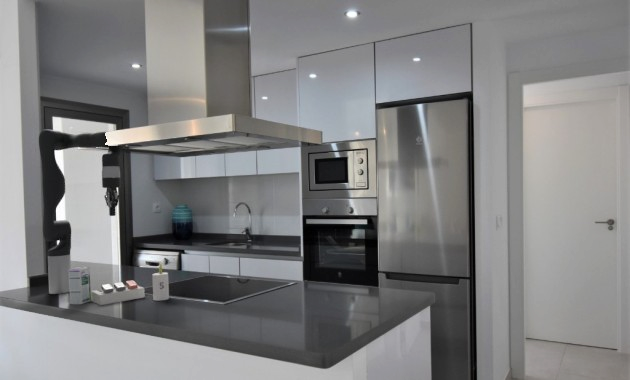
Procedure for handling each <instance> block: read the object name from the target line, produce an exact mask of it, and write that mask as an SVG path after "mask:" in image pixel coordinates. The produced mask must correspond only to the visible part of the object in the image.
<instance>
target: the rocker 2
mask: <svg viewBox="0 0 630 380" xmlns="http://www.w3.org/2000/svg"><path fill="white" fill-rule="evenodd" d="M126 286H127V285H126V284H125V283H123V282H122V281H121V282H114V283H113V288H114V287H115V288H116V289H117V291H121V290H126Z"/></svg>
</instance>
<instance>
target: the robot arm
mask: <svg viewBox="0 0 630 380" xmlns="http://www.w3.org/2000/svg"><path fill="white" fill-rule="evenodd" d="M106 132H107V131H97V132H79V133H68V132H63V131H60V130H55V129H43V130H41V131H40V133H39V135H38V148H39V154H40V160H41V161H40V162H41V174H42V175H41V176H42V179H41V180H42V182H41V183H42V196H43V197H42V198H43V199H42V200H43V215H42V216H43V218H42V219H43V221H42V235H43V238H44V240H45V241H46V242H55V241H56V242H57V241H59V242H58V244H56V245H55V246H53V247H52V248H49V249H48V250H47V266H48V268H47V269H48V294H50V295H58V294H59V295H60V294H61V295H62V294H65V293H66V294H67V293H70V290H69V271H68V270H69V269H72V267H71V266H72V263H71V262H72V261H71V260H72V259H71V258H72V257H71V249H72V226H71V223H70V222H69V220H65V219H64V220H55V213H56V209H57V207H58V206H59V204H60V202H61V201H62V200H63V198H64V196H65V193H66V178H65V176H64V173H63V172H62V170H61V168H60V165H59V164H58V163H57V159H56V154H55V153H56V152H55V151H62V150H63V151H64V150H68V149H73V148H82V149H96V147H98V148H106V149H108V150H107V152H106V153H103V154H102V155H101V164H102V165H101V166H102V167H101V187H102V188H103V189H106V192H105V195H104V196H103V198H104V200H105V204H106V206H107V207H108V210H109V211H108V213H109V214H108V215H109V216H110V217H114V216H116V213H117V212H116V208H117V207H118V205H119V200H120V194H119V192H118V190H117V188H121V186H122V185H121V184H122V183H121V170H120V168H121V167H120V155H121V151H122V147H123V145H122V146H108V145H105V143H106V142H107V139H106V136H105V133H106Z"/></svg>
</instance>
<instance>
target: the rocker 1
mask: <svg viewBox="0 0 630 380" xmlns="http://www.w3.org/2000/svg"><path fill="white" fill-rule="evenodd" d="M101 289H102V290H103V291H104V292H105V293H108V292H113V289H114V286H112V285H111V284H110V283H107V284H101Z"/></svg>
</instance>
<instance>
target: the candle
mask: <svg viewBox="0 0 630 380" xmlns="http://www.w3.org/2000/svg"><path fill="white" fill-rule="evenodd" d="M162 266H163V265H162V264H161V262H159V265H158V268H159V269H158V272H156V273H152V275H151V276H152V289H153V292H152V299H153V301H166V300H169V299H170V289H169V287H170V286H169V284H170V283H169V272H163V267H162Z"/></svg>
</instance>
